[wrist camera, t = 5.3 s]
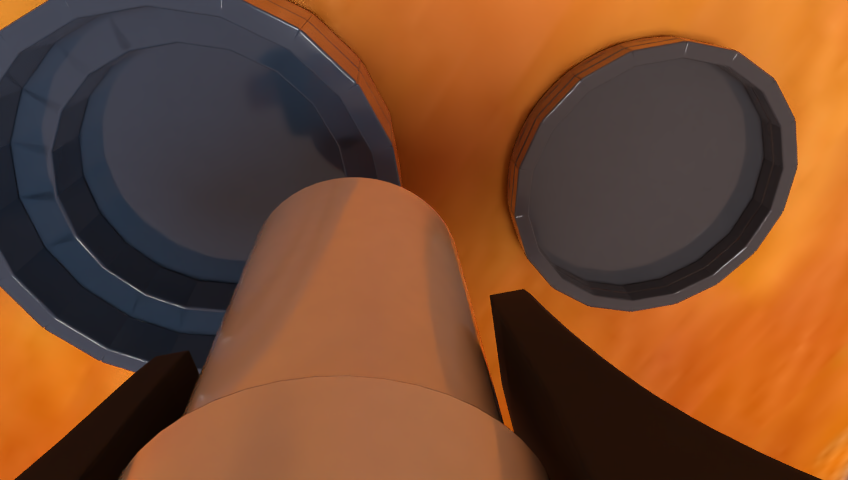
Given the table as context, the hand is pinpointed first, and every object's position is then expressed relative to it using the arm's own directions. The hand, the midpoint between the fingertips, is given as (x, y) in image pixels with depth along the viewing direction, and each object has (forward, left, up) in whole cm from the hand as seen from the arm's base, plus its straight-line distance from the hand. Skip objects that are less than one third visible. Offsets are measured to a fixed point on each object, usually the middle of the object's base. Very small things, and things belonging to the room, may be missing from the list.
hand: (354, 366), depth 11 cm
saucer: (-2, -9, -10) cm, 14 cm away
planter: (+1, +5, -10) cm, 11 cm away
